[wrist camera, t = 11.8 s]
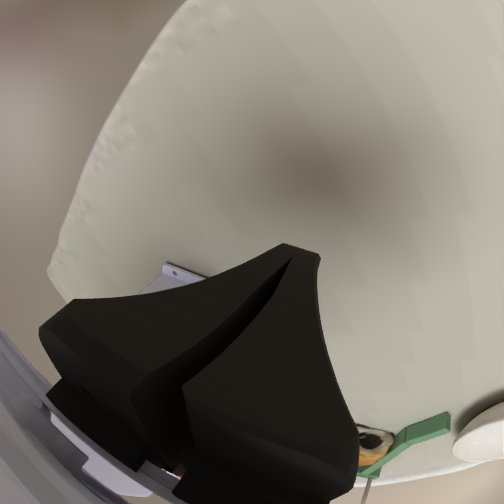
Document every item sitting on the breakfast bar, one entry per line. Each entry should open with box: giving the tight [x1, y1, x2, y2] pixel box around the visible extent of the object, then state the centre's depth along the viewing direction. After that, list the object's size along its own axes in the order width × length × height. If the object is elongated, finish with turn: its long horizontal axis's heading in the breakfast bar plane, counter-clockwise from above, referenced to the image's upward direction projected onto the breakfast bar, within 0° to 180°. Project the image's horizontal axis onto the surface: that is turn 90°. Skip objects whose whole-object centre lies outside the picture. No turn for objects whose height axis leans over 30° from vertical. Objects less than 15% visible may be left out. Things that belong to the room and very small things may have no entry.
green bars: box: [357, 412, 451, 504], centre depth 25 cm, size 19×18×10 cm
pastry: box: [356, 426, 394, 466], centre depth 28 cm, size 9×7×4 cm
